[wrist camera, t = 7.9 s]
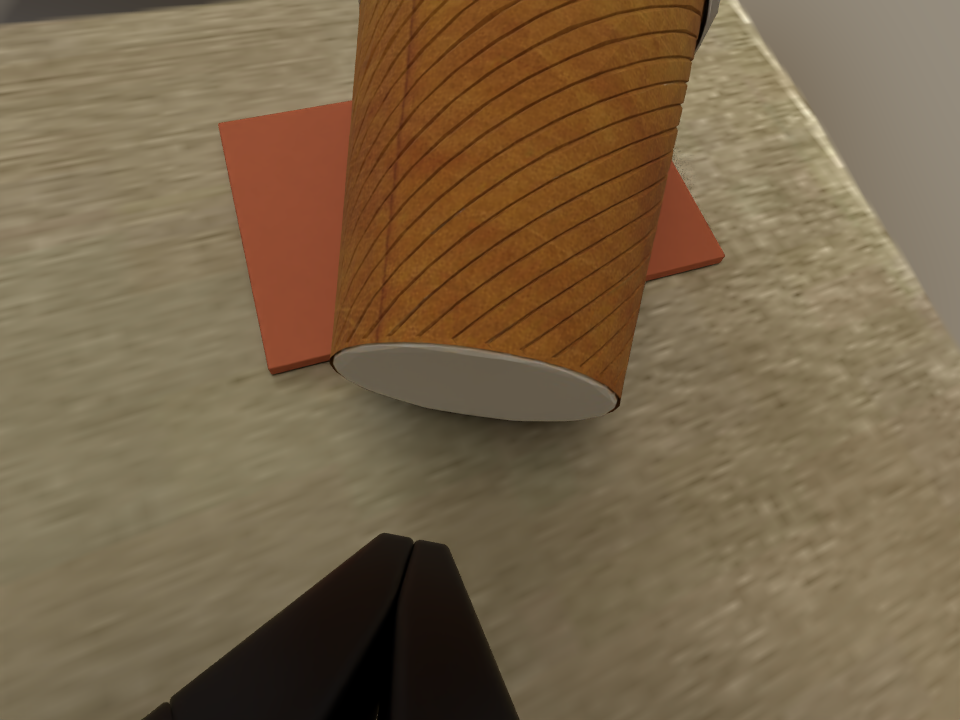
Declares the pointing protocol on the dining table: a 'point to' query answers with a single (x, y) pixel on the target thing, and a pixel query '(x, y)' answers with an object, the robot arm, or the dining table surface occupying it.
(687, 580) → the dining table surface
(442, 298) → the disposable coffee cup
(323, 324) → the mat
